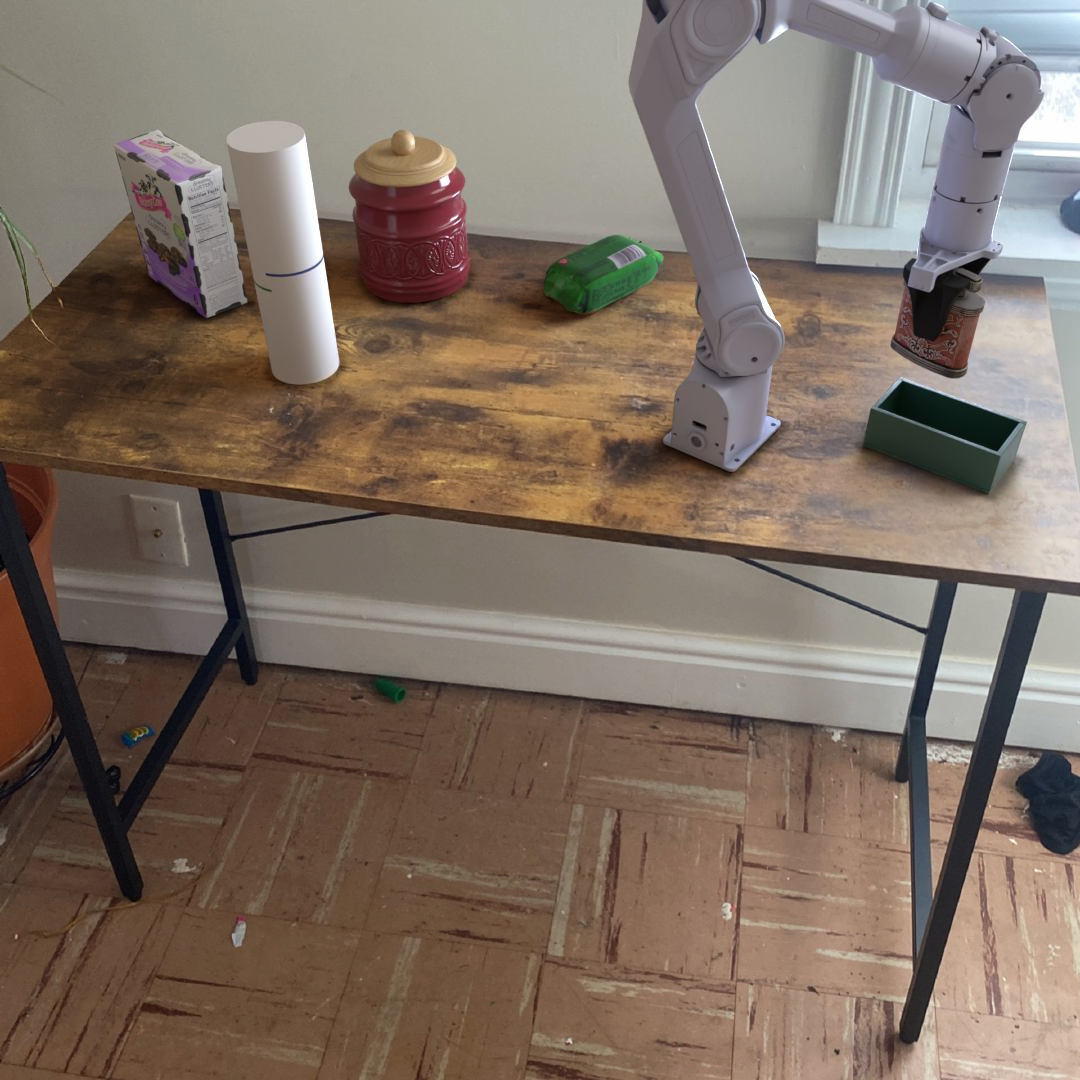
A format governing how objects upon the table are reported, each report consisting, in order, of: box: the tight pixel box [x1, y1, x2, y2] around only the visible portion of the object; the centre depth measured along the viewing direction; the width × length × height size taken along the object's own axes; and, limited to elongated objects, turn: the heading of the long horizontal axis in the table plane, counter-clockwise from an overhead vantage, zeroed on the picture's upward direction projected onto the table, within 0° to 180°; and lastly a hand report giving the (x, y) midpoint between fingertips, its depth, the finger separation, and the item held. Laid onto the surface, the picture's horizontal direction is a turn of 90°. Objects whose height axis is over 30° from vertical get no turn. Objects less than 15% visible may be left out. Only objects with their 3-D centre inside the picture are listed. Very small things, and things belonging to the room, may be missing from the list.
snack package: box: [542, 234, 665, 316], centre depth 134 cm, size 7×16×5 cm, turn 131°
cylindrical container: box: [226, 120, 340, 386], centre depth 117 cm, size 7×7×25 cm
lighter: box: [890, 267, 986, 380], centre depth 108 cm, size 8×3×10 cm, turn 39°
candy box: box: [113, 129, 248, 319], centre depth 132 cm, size 14×6×16 cm, turn 42°
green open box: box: [862, 376, 1028, 495], centre depth 111 cm, size 6×12×4 cm, turn 53°
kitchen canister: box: [348, 129, 471, 304], centre depth 133 cm, size 13×13×18 cm
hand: (934, 326), depth 109 cm, fingers closed on lighter, 4 cm apart
